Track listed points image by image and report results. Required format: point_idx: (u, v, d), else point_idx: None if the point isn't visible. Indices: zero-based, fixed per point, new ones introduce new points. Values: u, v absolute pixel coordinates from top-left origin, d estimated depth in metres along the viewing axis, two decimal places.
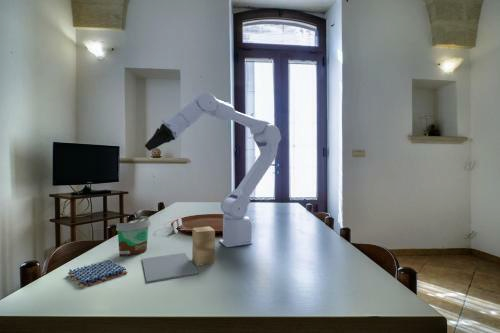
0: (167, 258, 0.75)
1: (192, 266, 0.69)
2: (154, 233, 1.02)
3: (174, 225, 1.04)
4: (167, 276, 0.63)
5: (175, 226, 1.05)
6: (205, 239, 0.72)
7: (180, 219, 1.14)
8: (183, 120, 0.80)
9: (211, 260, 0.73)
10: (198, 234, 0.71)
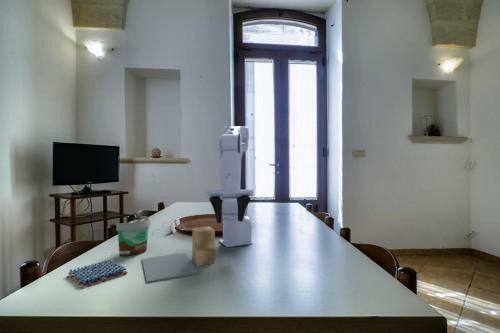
0: (167, 258, 0.75)
1: (192, 266, 0.69)
2: (152, 233, 1.02)
3: (172, 225, 1.04)
4: (167, 276, 0.63)
5: (173, 226, 1.05)
6: (205, 239, 0.72)
7: (178, 219, 1.14)
8: None
9: (211, 260, 0.73)
10: (198, 234, 0.71)
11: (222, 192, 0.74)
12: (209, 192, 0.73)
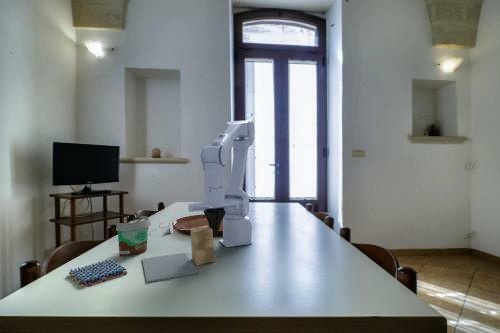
0: (167, 258, 0.75)
1: (192, 266, 0.69)
2: None
3: (170, 225, 1.04)
4: (167, 276, 0.63)
5: (170, 226, 1.05)
6: (203, 238, 0.72)
7: (175, 219, 1.14)
8: None
9: (211, 259, 0.73)
10: (196, 234, 0.71)
11: (206, 206, 0.72)
12: (192, 206, 0.72)
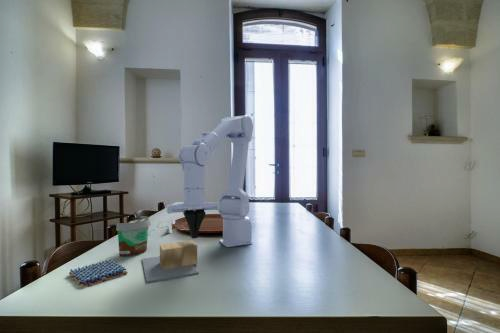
0: None
1: (192, 266, 0.69)
2: None
3: (168, 225, 1.04)
4: (167, 276, 0.63)
5: (169, 226, 1.05)
6: (171, 258, 0.68)
7: (174, 219, 1.14)
8: None
9: (194, 249, 0.70)
10: (165, 267, 0.67)
11: (184, 207, 0.70)
12: (170, 207, 0.69)
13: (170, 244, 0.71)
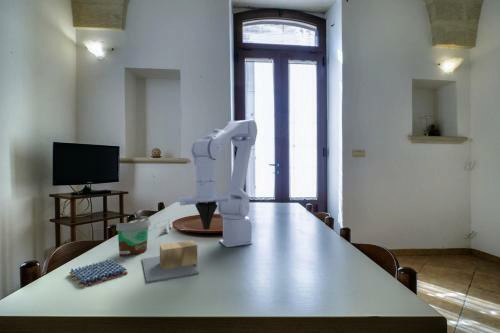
0: None
1: (192, 266, 0.69)
2: None
3: (166, 225, 1.04)
4: (167, 276, 0.63)
5: (167, 226, 1.05)
6: (171, 258, 0.68)
7: (170, 219, 1.13)
8: None
9: (194, 249, 0.70)
10: (165, 267, 0.67)
11: (197, 199, 0.72)
12: (183, 199, 0.72)
13: (170, 244, 0.71)
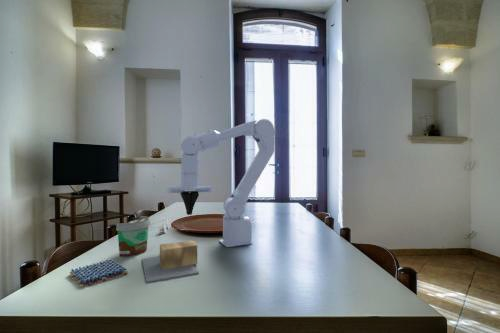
0: None
1: (192, 266, 0.69)
2: None
3: (163, 225, 1.04)
4: (167, 276, 0.63)
5: (164, 226, 1.05)
6: (171, 258, 0.68)
7: (167, 219, 1.13)
8: None
9: (194, 249, 0.70)
10: (165, 267, 0.67)
11: (181, 188, 0.85)
12: (170, 188, 0.85)
13: (170, 244, 0.71)
